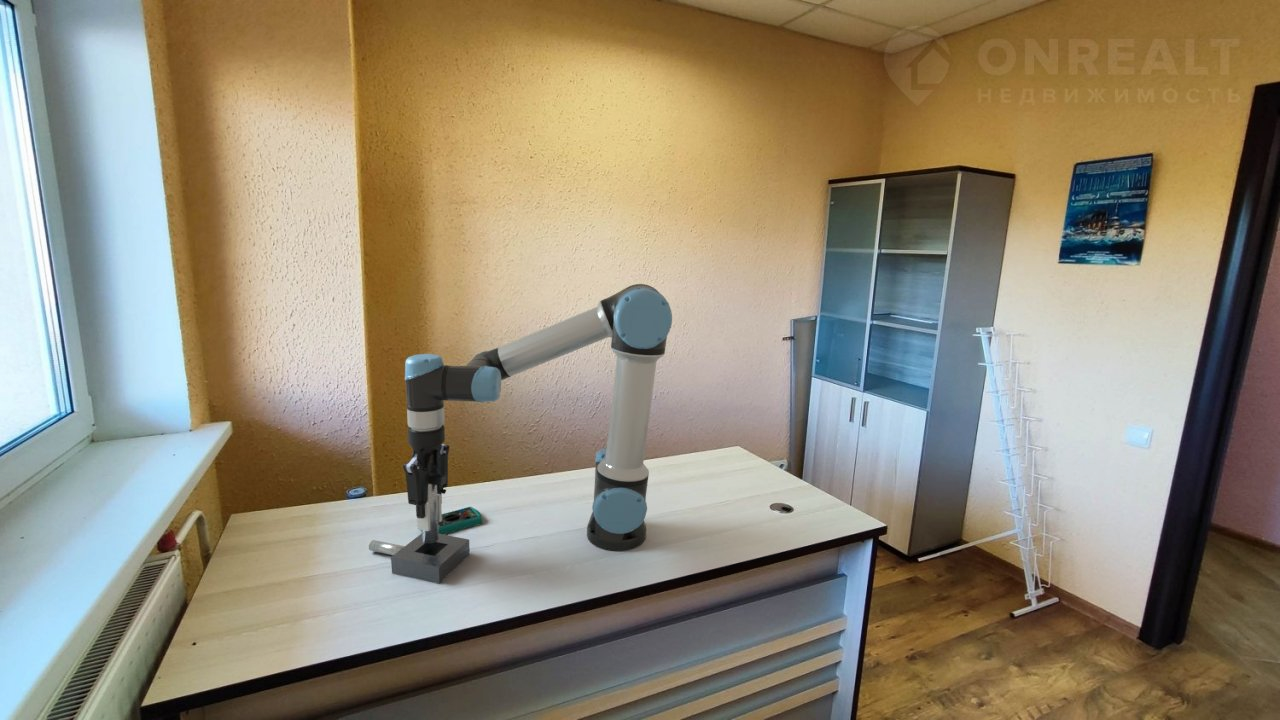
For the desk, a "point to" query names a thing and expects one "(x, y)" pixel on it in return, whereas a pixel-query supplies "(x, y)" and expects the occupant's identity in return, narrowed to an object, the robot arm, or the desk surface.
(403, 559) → the block
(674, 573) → the desk surface
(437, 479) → the t key
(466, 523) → the digital multimeter
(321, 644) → the desk surface
